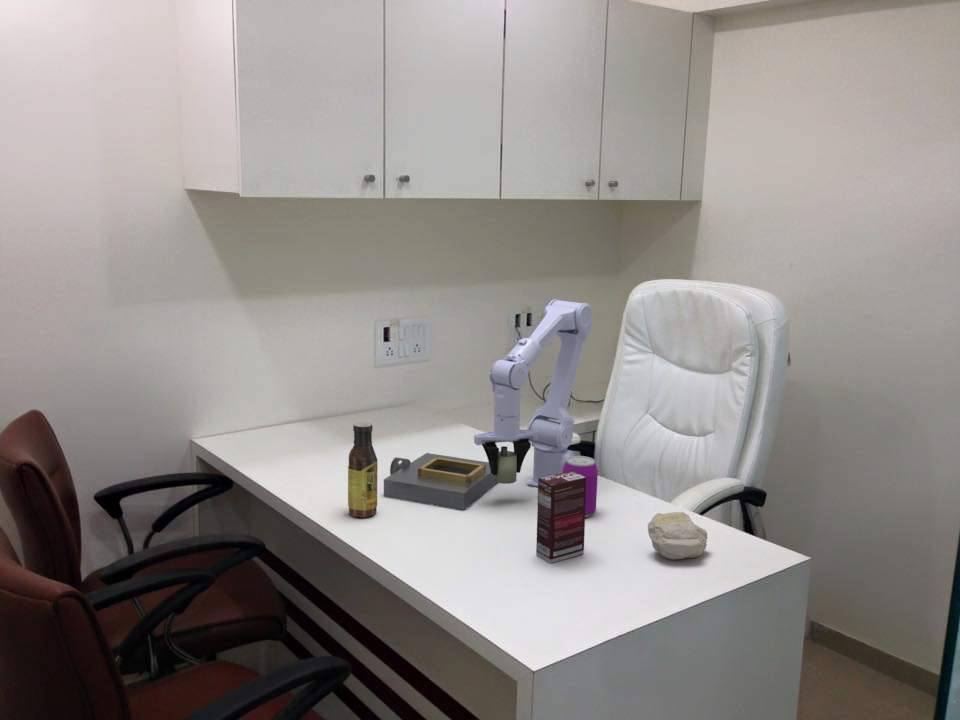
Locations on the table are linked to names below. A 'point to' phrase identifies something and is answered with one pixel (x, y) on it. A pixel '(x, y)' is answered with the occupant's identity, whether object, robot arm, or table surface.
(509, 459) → the spout can
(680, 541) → the beige lumpy stone
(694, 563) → the table surface
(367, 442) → the sauce bottle
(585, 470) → the beverage can
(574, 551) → the supplement box
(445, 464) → the grey panel with frame
